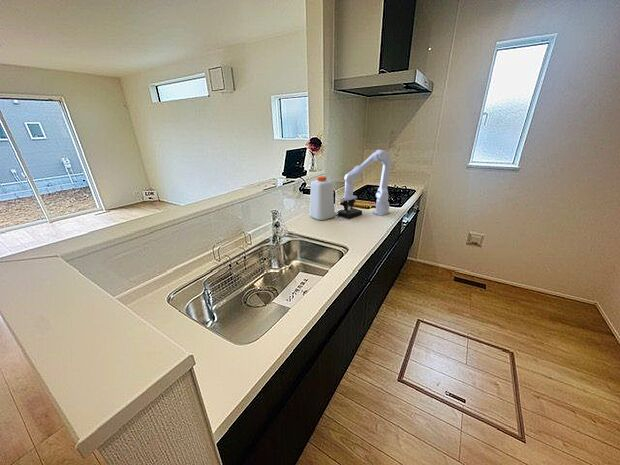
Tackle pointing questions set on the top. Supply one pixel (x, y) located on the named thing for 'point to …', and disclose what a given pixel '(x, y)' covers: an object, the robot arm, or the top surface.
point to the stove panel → (350, 213)
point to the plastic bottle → (321, 199)
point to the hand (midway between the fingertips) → (348, 210)
